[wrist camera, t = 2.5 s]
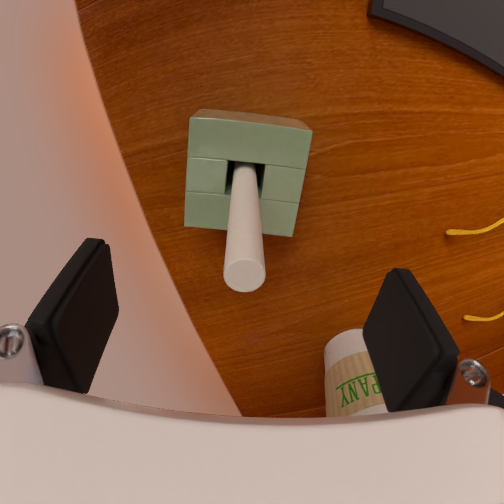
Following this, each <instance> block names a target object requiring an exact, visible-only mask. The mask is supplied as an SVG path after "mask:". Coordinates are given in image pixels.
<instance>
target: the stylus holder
mask: <svg viewBox="0 0 504 504" xmlns="http://www.w3.org/2000/svg"><path fill="white" fill-rule="evenodd" d="M312 134H313V131H312V130H311V129H310V128H308V127H307V126H306V125H305V124H304V123H303V122H302V121H301V120H298V119H292V118H285V117H278V116H271V115H264V114H256V113H247V112H238V111H227V110H216V109H202V108H201V109H200V110H198V111H197V112H196V113H195V114H194V115H192V116H191V117H190V124H189V137H188V152H187V156H188V157H187V170H186V192H185V215H184V226H187V227H198V228H209V229H219V230H228V221H229V211H230V201H231V192H232V183H233V174H234V173H228V169H229V160H232V161H242V162H251V163H260V166H259V173H258V176H256V178H257V188H258V198H259V208H260V218H261V229H262V234H270V235H279V236H289V237H292V236H293V231H294V226H295V221H296V216H297V212H298V207H299V202H300V197H301V192H302V187H303V182H304V177H305V172H306V170H305V169H306V166H307V161H308V156H309V150H310V145H311V140H312Z"/></svg>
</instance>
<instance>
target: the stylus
mask: <svg viewBox="0 0 504 504" xmlns="http://www.w3.org/2000/svg"><path fill="white" fill-rule="evenodd" d="M223 276H224V280H225V282H226V284H227V285H228V286H229V287H230V288H232V289H233V290H236V291H239V292H250V291H254V290H256V289H257V288H259V287H260V286H261V285H262V284H263V282H264V280H265V277H266V271H265V260H264V250H263V239H262V229H261V218H260V208H259V198H258V188H257V178H256V168H255V163H251V162H242V161H235V165H234V174H233V183H232V192H231V201H230V211H229V221H228V231H227V241H226V251H225V262H224V273H223Z"/></svg>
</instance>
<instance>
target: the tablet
mask: <svg viewBox="0 0 504 504" xmlns="http://www.w3.org/2000/svg"><path fill="white" fill-rule="evenodd" d="M367 16H370V17H373V18H376V19H379V20H382V21H385V22H388V23H391V24H394V25H396V26H399V27H402V28H404V29H407V30H409V31H412V32H414V33H417V34H419V35H422V36H424V37H426V38H428V39H431V40H433V41H435V42H437V43H440V44H442V45H444V46H446V47H448V48H450V49H452V50H454V51H456V52H458V53H460V54H462V55H464V56H466V57H468V58H469V59H471V60H473V61H475V62H477V63H479V64H480V65H482V66H484V67H486V68H487V69H489V70H491V71H492V72H494V73H496V74H497V75H499V76H500V77H502V78H504V0H369V3H368V11H367Z"/></svg>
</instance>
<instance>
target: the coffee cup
mask: <svg viewBox="0 0 504 504" xmlns="http://www.w3.org/2000/svg"><path fill="white" fill-rule="evenodd" d="M362 332H363V329H352V330H348V331H344V332H342V333H340V334H338V335H336V336H335V337H333V338H332V339H331V340H330V341H329V342H328V343H327V345H326V346H325V349H324V362H325V380H324V381H325V399H326V417H344V416H359V415H371V414H381V413H390V412H388V411H387V408H386V405H385V402H384V399H383V396H382V393H381V389H380V386H379V383H378V380H377V377H376V374H375V371H374V368H373V365H372V362H371V359H370V356H369V354H368V351H367V348H366V345H365V342H364V339H363V335H362Z"/></svg>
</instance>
